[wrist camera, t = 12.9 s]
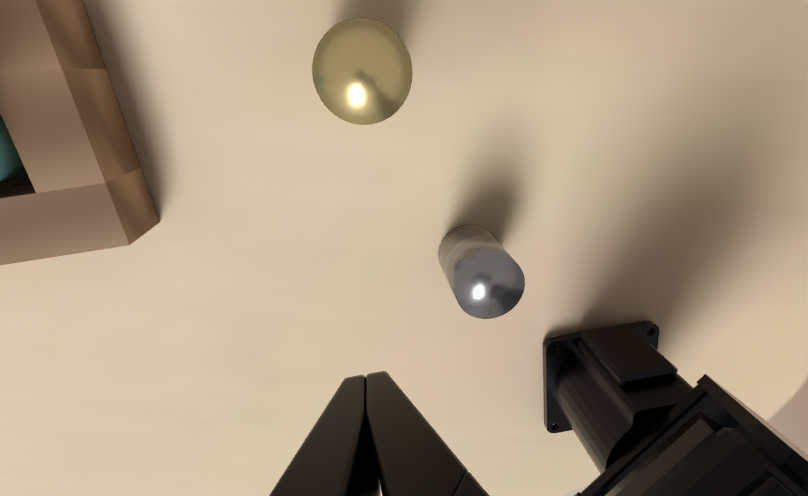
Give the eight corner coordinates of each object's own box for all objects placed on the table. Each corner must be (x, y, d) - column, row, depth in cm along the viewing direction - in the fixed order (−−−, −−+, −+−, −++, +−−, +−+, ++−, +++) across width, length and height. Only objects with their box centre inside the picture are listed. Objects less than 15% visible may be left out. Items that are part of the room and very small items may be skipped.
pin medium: (399, 105, 20) (417, 117, 14) (331, 115, 19) (322, 131, 14) (389, 31, 19) (405, 11, 13) (317, 40, 18) (303, 24, 13)
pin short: (498, 274, 23) (525, 312, 19) (441, 284, 23) (458, 324, 19) (494, 220, 22) (523, 249, 18) (435, 229, 22) (452, 261, 18)
